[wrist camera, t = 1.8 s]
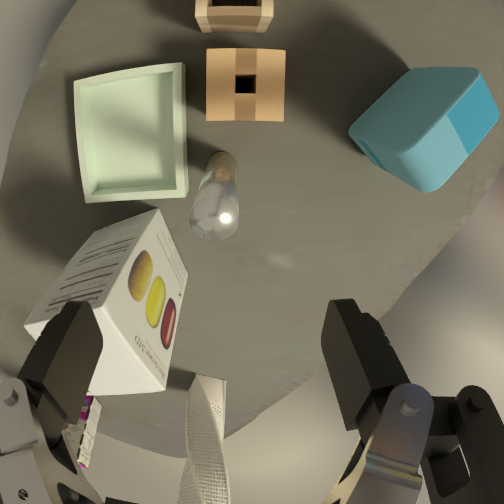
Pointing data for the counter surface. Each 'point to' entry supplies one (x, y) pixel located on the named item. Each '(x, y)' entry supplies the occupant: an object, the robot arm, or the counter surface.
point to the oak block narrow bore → (245, 68)
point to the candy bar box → (84, 430)
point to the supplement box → (124, 301)
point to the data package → (427, 124)
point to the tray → (133, 133)
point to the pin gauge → (216, 200)
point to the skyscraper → (205, 444)
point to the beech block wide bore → (233, 17)
